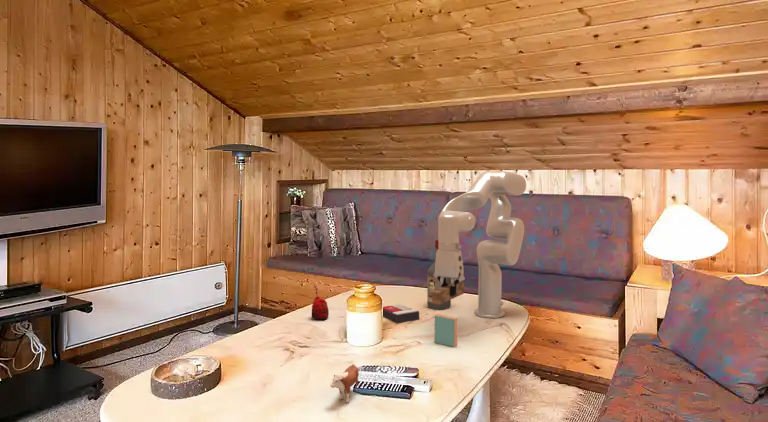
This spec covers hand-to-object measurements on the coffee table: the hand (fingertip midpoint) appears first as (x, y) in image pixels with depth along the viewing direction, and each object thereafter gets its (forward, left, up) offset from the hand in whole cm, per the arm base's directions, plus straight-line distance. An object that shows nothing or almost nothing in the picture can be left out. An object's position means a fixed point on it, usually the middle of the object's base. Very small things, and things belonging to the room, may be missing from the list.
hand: (448, 294), depth 193 cm
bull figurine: (+65, +4, -15) cm, 66 cm away
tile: (+12, +5, -15) cm, 19 cm away
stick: (0, 0, -1) cm, 1 cm away
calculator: (-6, -27, -15) cm, 31 cm away
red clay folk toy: (+16, -52, -15) cm, 56 cm away
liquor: (-28, -21, -15) cm, 38 cm away
